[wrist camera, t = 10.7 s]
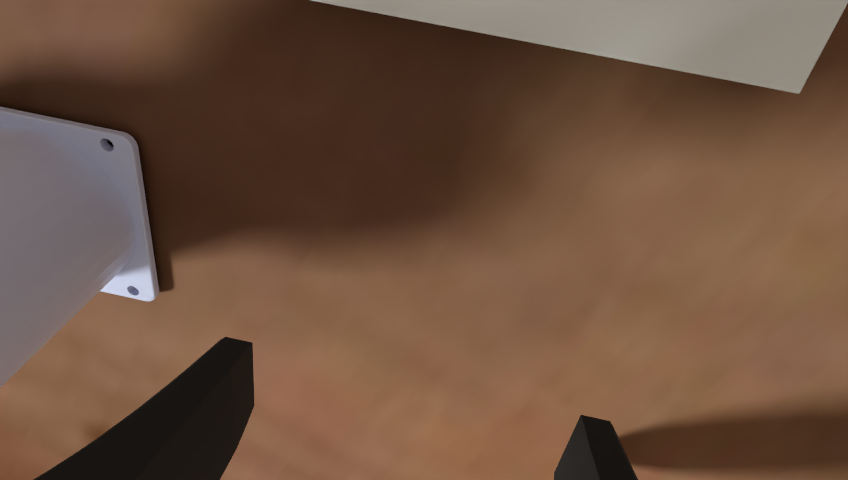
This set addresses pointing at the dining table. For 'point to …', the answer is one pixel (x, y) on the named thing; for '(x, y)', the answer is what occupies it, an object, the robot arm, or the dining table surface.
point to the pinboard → (652, 31)
